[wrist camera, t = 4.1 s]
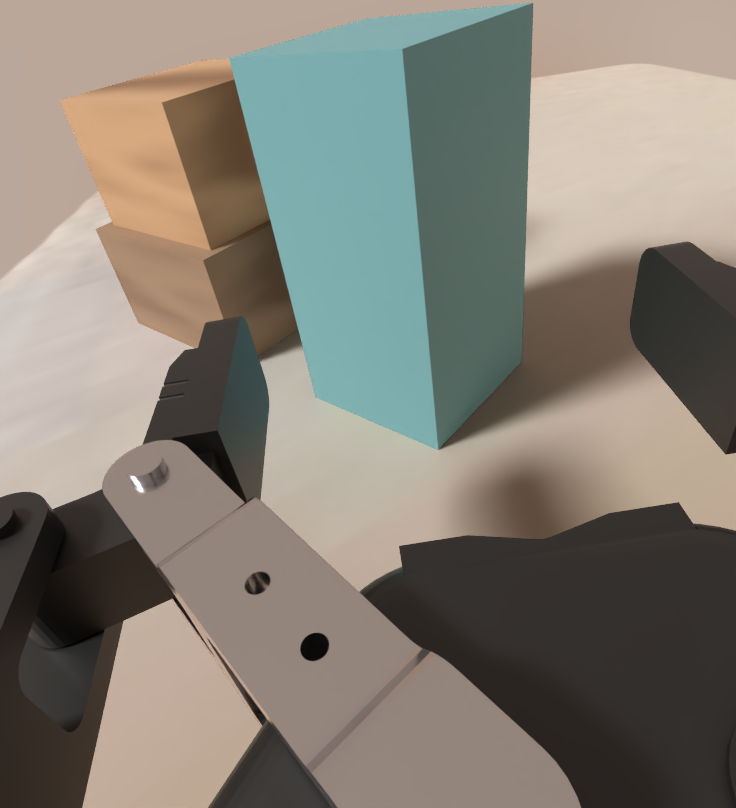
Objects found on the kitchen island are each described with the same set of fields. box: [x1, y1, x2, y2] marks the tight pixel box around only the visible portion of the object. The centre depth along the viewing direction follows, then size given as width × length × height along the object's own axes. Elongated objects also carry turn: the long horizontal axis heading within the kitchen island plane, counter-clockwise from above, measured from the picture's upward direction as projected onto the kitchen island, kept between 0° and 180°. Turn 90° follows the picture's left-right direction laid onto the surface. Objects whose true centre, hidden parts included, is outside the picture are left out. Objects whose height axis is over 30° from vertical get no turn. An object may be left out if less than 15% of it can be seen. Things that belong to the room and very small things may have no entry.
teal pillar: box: [229, 3, 533, 450], centre depth 18 cm, size 6×6×11 cm
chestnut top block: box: [60, 59, 270, 250], centre depth 23 cm, size 7×7×5 cm
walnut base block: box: [96, 220, 298, 356], centre depth 26 cm, size 8×8×5 cm
